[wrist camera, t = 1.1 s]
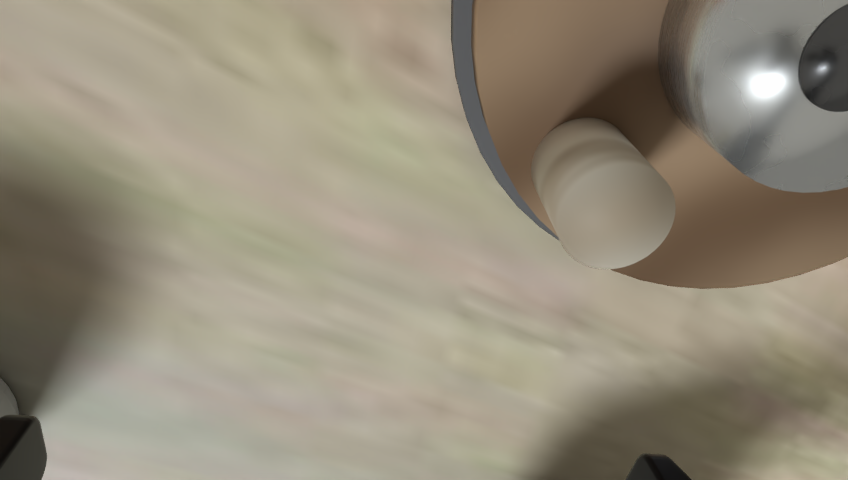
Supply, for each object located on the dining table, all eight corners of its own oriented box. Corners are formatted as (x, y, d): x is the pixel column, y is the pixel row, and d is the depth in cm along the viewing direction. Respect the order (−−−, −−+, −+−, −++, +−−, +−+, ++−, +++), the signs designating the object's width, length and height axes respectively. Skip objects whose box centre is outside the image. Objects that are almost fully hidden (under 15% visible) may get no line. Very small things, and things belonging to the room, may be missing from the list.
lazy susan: (1066, 135, 21) (1242, 201, 17) (584, 333, 24) (626, 431, 20) (1074, -550, 13) (1407, -762, 9) (364, -127, 16) (354, -131, 12)
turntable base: (1052, 130, 22) (1079, 140, 21) (548, 337, 26) (554, 353, 25) (1052, -566, 14) (1096, -595, 13) (312, -119, 17) (308, -119, 17)
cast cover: (928, 84, 18) (1021, 119, 16) (694, 187, 20) (742, 236, 17) (903, -173, 15) (1013, -185, 12) (624, -30, 16) (670, -13, 14)
